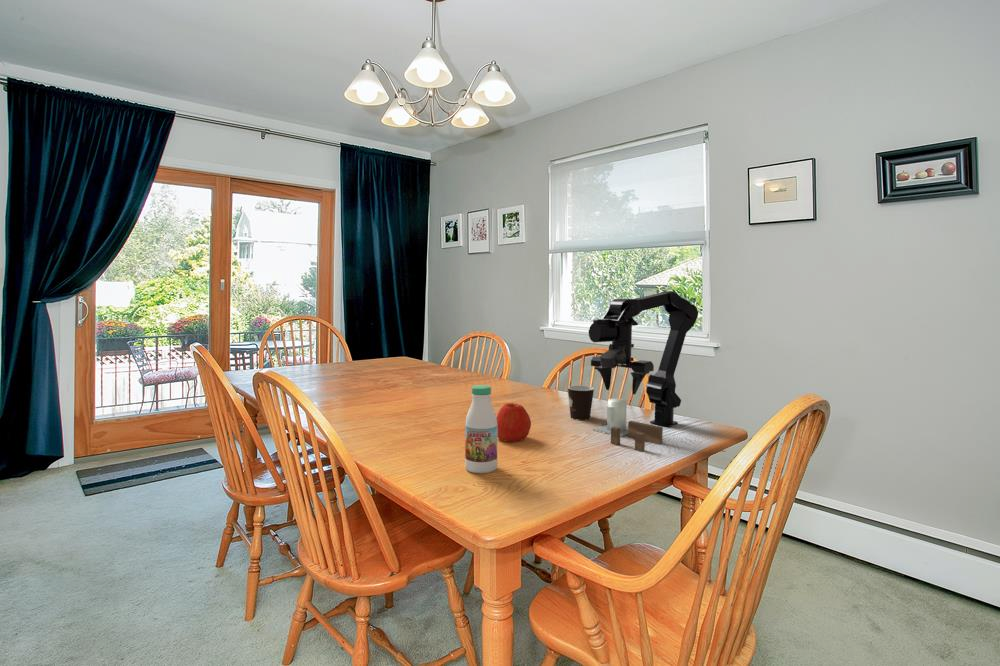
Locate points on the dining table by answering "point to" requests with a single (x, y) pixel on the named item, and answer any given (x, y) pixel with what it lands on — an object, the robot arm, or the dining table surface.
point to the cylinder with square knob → (616, 414)
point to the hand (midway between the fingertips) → (620, 392)
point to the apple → (513, 423)
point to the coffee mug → (580, 401)
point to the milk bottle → (481, 432)
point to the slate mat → (604, 429)
